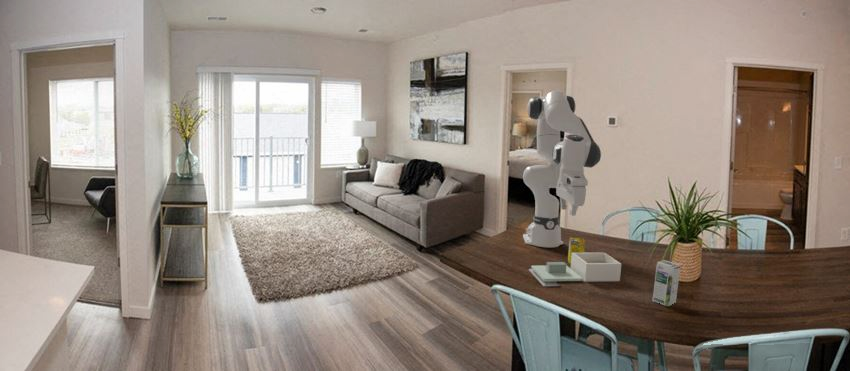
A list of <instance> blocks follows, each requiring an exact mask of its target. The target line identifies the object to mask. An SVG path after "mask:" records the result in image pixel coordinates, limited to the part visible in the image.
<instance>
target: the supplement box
mask: <svg viewBox="0 0 850 371" xmlns="http://www.w3.org/2000/svg"><path fill="white" fill-rule="evenodd" d="M585 247H586V241H585V239H584V238H583V237H582V238H581V237H569V241H568V252H567V261H568V264H570V265H571V256H572V253H585V249H586V248H585Z"/></svg>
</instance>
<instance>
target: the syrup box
mask: <svg viewBox="0 0 850 371" xmlns="http://www.w3.org/2000/svg"><path fill="white" fill-rule="evenodd" d="M681 266H682V265H681V264H680V263H677V262H672V261H669V260H665V259H663V260H660V261H657V262H656V266H655V267H656V268H655V277H654V286H653V293H652V299H651V300H652V302H654V303H657V304H659V303H660V304H659V305H662V306H665V307H667V306H668V307H670V306H673V305H675V304H676V303H677V295H678V288H679V281H680V274H681V273H680V272H681ZM674 303H675V304H674ZM672 304H673V305H672Z"/></svg>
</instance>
